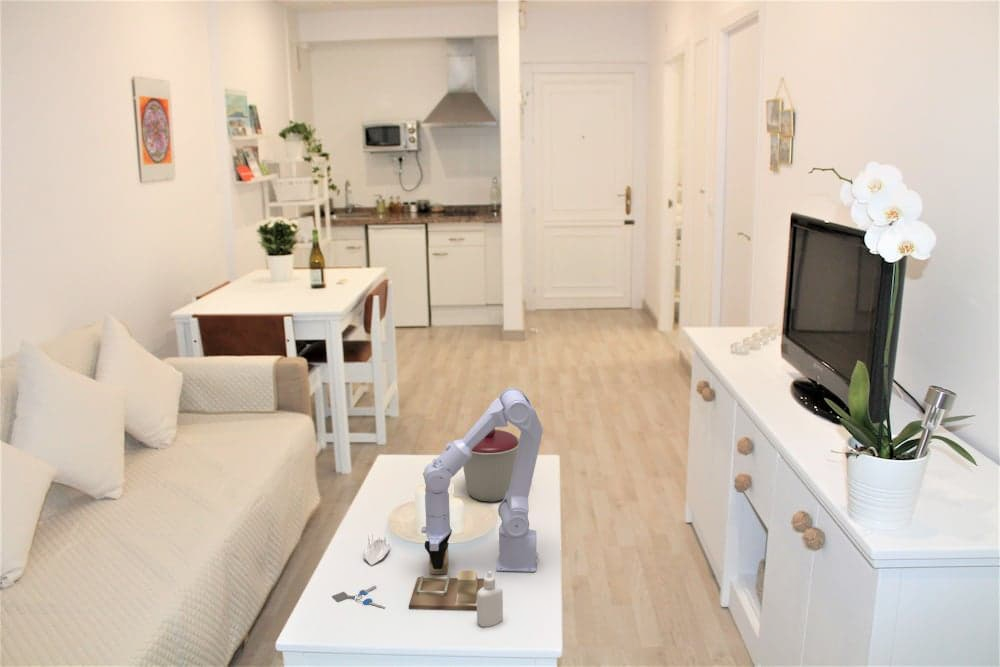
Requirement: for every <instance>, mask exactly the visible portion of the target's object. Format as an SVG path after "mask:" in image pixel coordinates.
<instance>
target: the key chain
mask: <svg viewBox="0 0 1000 667" xmlns="http://www.w3.org/2000/svg"><path fill="white" fill-rule="evenodd" d="M376 588H377V585H374V584H373V585H372V586H371V587H369V588H367V589H361V590H360V591H359V593H358V594H356V595H348V594H347V593H346V592H345V591H342V592H338V593H336V594H333V595H331V598H332V599H333V600H334V601H335V602H336V603H341V602H343V601H346V600H353V601H355V598H356V597H357V598H356V600H358V602H359V603H360V602H361V603H362V605H363V604H364V605H368V606H369V605H370V604H371V606H373V607H377V608H380V607H381V609H384V610H385V609H386V607H385V606H384V605H382V604H377V603H374V602H373V600H372V598H371V597H369V598H368V597H367V598H366V599H364V600H362V599H363V596H362V595H364V596H366V595H369V593H370V592H371V591H373V590H375V589H376ZM369 591H370V592H369ZM357 595H358V596H357ZM355 596H356V597H355ZM360 596H361V597H360ZM358 597H360V598H358ZM360 599H361V600H360ZM364 605H363V606H364Z"/></svg>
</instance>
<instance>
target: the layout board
mask: <svg viewBox="0 0 1000 667" xmlns="http://www.w3.org/2000/svg"><path fill="white" fill-rule="evenodd" d="M482 587H484V578H478V570H463V569H462V570H459V571H458V576H457V577H450V576H417V578H416V581H415V584H414V587H413V589H412V590H413V591H412V594H411V597H410V601H409V603H408V609H409V610H437V611H438V610H440V611H473V612H474V611H475V612H477V592H478V591H479V590H480V589H481V588H482Z"/></svg>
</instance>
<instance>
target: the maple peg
mask: <svg viewBox="0 0 1000 667" xmlns="http://www.w3.org/2000/svg"><path fill="white" fill-rule="evenodd" d="M428 555H429V554H428ZM449 564H450V563H449V546H448V547H447V549H446V551H445V555H444V562H443V567H442V569H434V568H433V566H432V562H431V558H430V555H429V573H430V575H431V574H432V575H434V574H435V575H447V573H448V570H449Z"/></svg>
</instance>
